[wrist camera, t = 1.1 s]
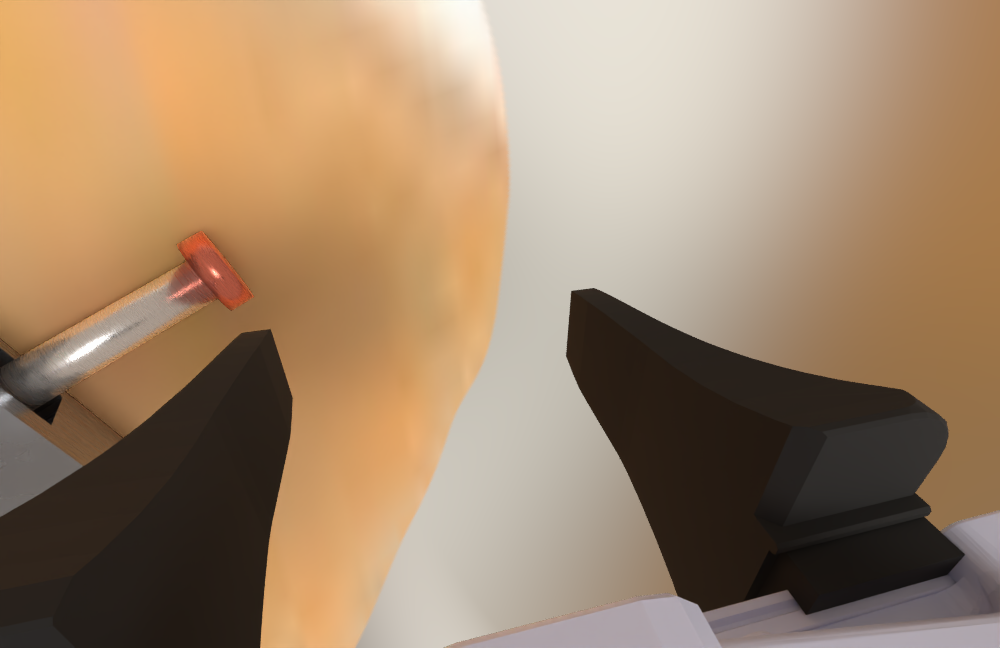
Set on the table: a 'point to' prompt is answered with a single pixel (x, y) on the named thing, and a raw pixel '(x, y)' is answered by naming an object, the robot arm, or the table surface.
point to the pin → (125, 324)
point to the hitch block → (44, 442)
